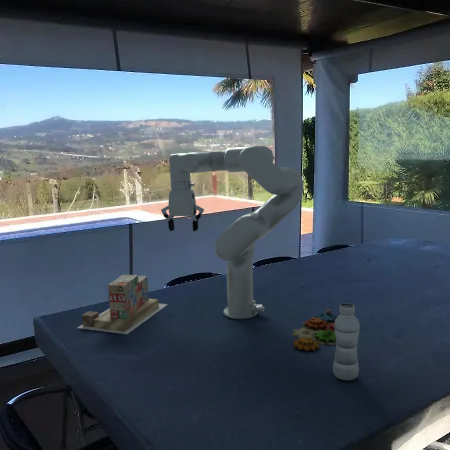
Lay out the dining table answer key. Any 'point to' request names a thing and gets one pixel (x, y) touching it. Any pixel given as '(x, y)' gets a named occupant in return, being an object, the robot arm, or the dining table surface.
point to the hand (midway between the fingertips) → (183, 230)
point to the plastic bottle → (346, 343)
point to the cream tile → (130, 327)
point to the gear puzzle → (316, 332)
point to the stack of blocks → (127, 295)
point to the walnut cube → (89, 318)
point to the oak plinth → (124, 324)
